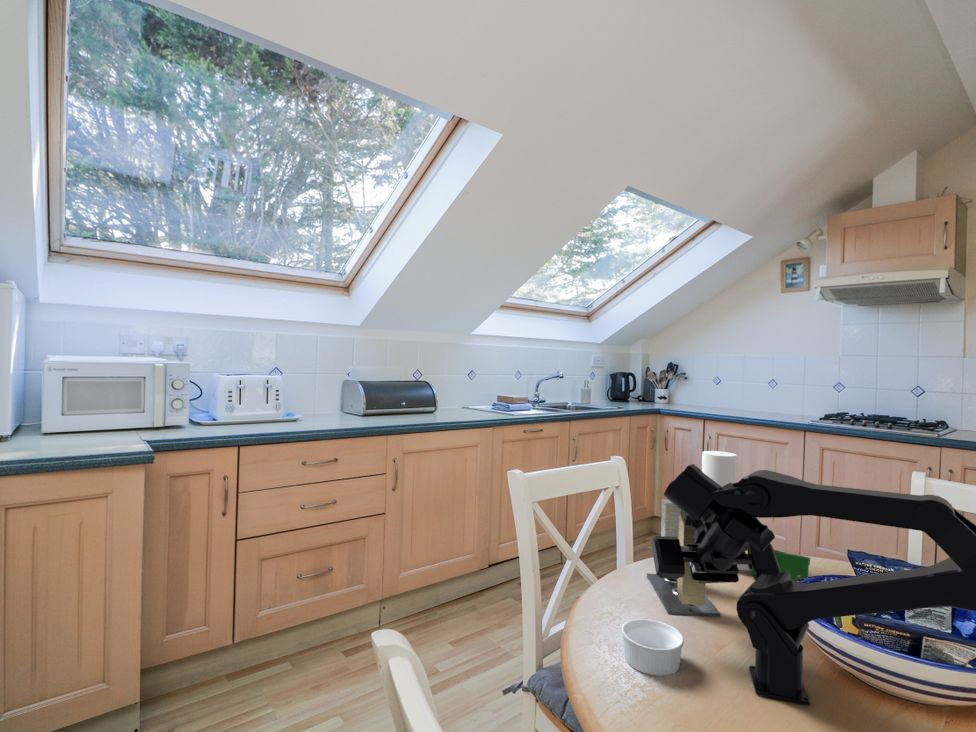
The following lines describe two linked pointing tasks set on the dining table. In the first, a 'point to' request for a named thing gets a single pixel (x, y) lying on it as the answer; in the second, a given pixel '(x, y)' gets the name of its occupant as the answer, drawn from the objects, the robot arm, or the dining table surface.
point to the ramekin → (652, 646)
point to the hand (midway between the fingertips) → (700, 580)
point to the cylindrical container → (720, 466)
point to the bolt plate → (668, 586)
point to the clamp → (791, 565)
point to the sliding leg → (686, 586)
